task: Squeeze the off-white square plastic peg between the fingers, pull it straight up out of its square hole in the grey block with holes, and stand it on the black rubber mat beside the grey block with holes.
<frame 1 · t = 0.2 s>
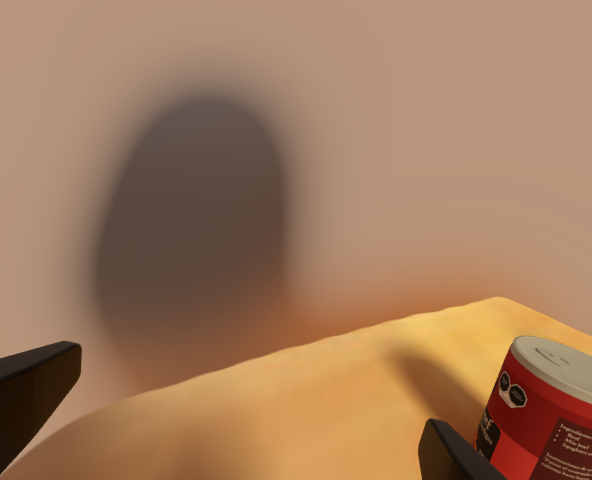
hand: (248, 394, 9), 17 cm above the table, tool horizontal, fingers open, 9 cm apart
canned food: (519, 477, 28), on the table
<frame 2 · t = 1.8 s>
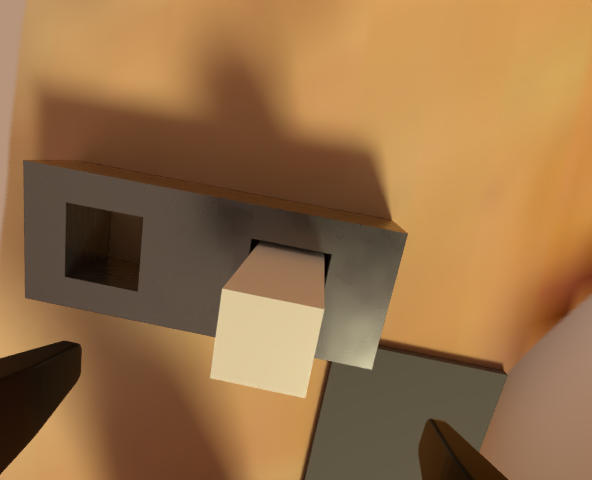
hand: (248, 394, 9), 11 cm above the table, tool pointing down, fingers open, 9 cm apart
peg: (291, 262, 19), resting in grey block with holes
mat: (395, 436, 21), on the table
grey block with holes: (223, 249, 20), on the table
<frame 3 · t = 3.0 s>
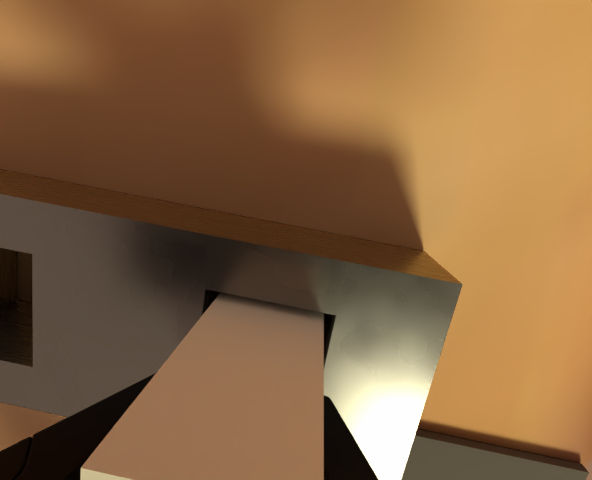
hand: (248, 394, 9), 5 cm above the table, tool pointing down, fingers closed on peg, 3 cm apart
peg: (276, 310, 13), resting in grey block with holes, touching gripper
grey block with holes: (178, 290, 14), on the table
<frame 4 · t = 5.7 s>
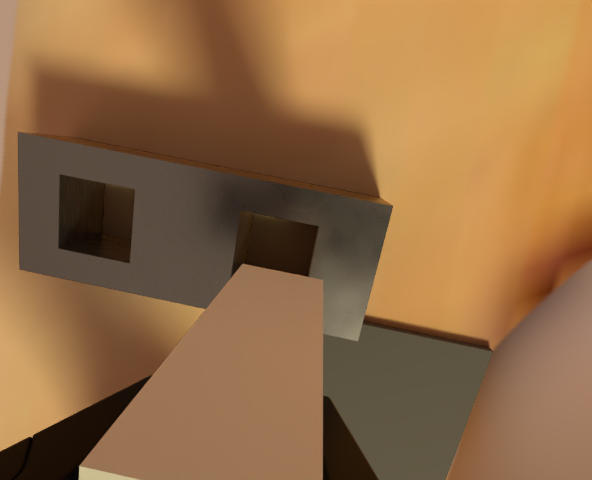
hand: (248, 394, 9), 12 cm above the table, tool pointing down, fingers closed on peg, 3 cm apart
peg: (275, 309, 13), point 7 cm above the table, touching gripper
mat: (382, 412, 22), on the table
grey block with holes: (215, 226, 20), on the table
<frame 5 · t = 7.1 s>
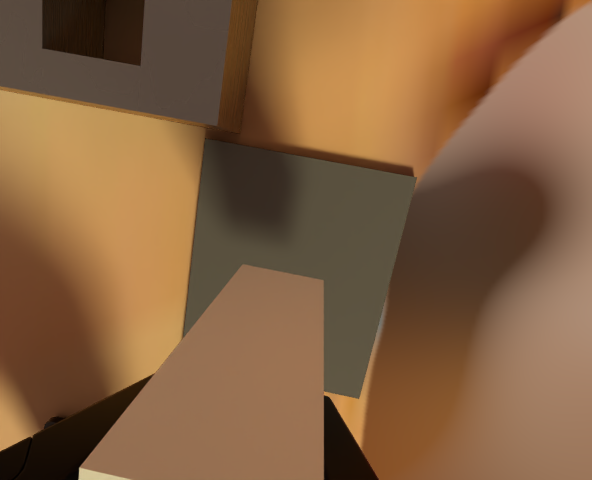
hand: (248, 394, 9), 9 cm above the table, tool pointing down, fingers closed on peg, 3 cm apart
peg: (276, 309, 13), point 4 cm above the table, touching gripper
mat: (288, 275, 17), on the table
grey block with holes: (60, 21, 16), on the table
when the fingers open (7 cm above the table, at t = 8.3 s): peg drops 1 cm, resting on mat.
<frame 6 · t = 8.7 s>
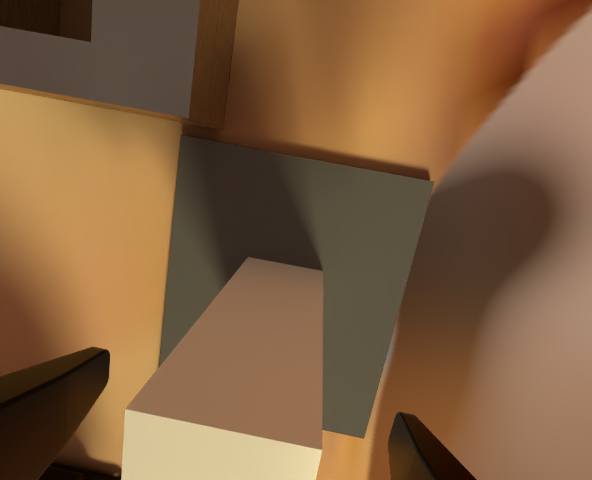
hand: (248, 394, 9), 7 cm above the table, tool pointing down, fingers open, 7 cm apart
peg: (279, 299, 14), resting on mat
mat: (281, 295, 15), on the table
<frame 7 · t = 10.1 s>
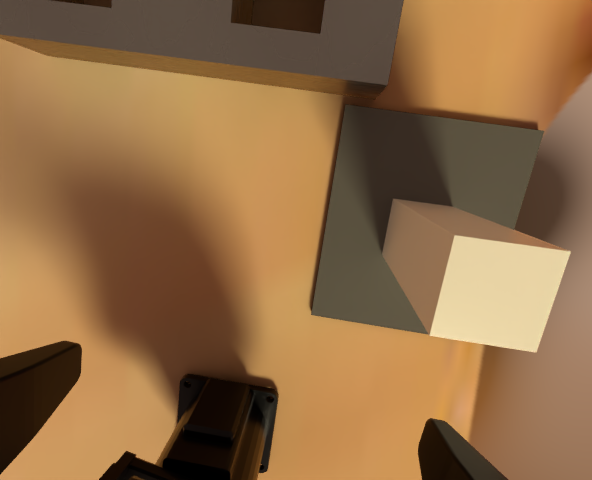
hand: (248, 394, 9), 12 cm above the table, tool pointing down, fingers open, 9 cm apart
peg: (416, 231, 19), resting on mat
mat: (415, 229, 19), on the table
grey block with holes: (212, 2, 17), on the table
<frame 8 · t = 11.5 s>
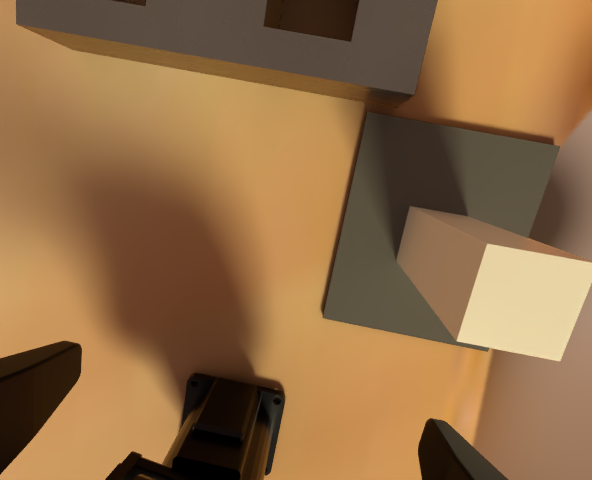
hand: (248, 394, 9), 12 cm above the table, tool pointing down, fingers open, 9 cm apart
peg: (431, 239, 19), resting on mat
mat: (429, 237, 19), on the table
grey block with holes: (241, 6, 17), on the table
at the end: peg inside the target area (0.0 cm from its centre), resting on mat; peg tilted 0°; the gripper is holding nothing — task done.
